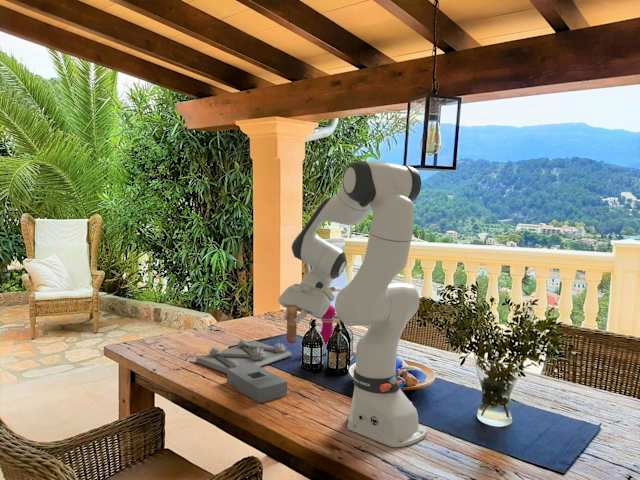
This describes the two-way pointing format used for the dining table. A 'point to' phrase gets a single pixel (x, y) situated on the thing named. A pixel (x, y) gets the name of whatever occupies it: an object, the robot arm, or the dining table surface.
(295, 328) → the peg
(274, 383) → the socket block
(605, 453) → the dining table surface
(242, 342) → the grey crossed stick tray
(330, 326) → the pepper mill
